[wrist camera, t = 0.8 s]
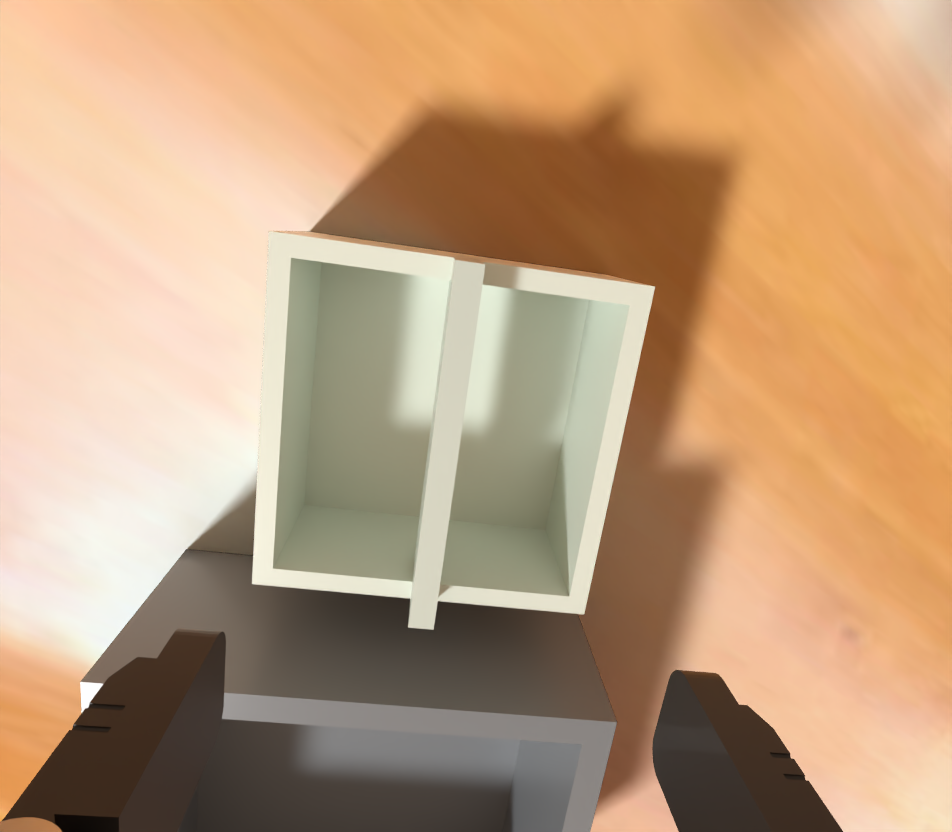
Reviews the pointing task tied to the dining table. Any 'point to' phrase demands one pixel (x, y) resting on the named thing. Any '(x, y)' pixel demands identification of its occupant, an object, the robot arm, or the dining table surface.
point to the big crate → (381, 709)
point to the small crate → (439, 423)
